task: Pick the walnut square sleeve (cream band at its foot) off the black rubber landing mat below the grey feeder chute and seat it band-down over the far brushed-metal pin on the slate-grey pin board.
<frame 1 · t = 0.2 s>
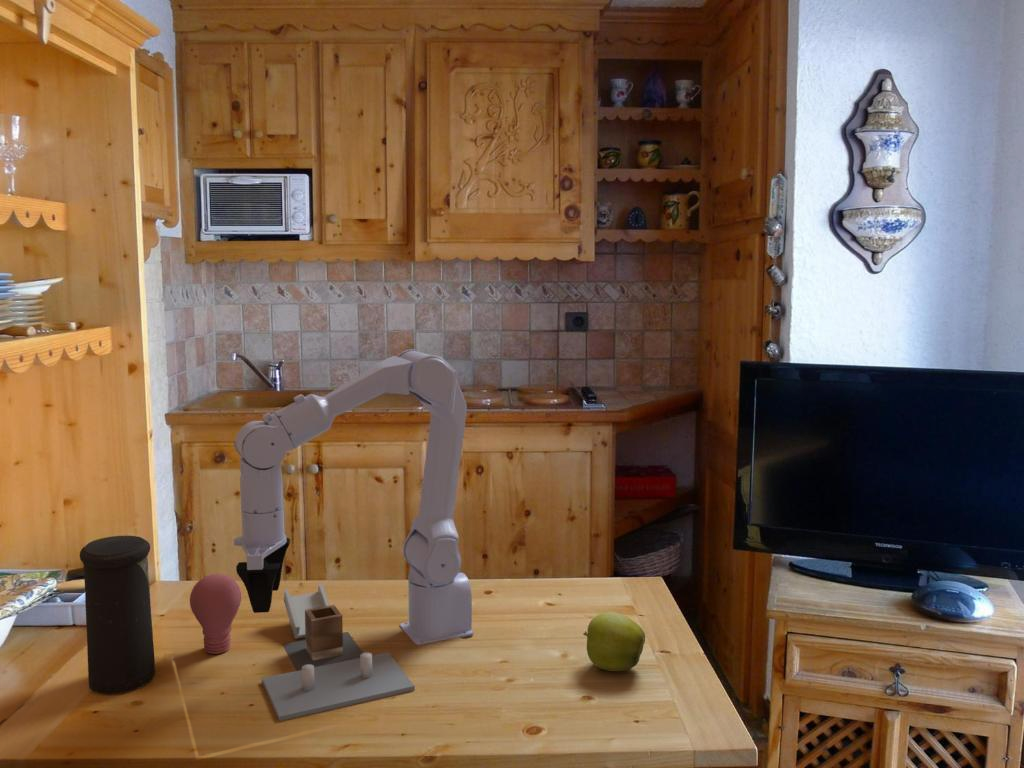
hand: (266, 600, 123), 10 cm above the table, fingers open, 7 cm apart
landing mat: (324, 653, 128), on the table
feeder chute: (309, 630, 136), on the table
pin board: (338, 688, 118), on the table
light bulb: (218, 654, 128), on the table
container: (122, 682, 119), on the table
apple: (611, 669, 124), on the table
sleeve: (324, 651, 128), resting on landing mat
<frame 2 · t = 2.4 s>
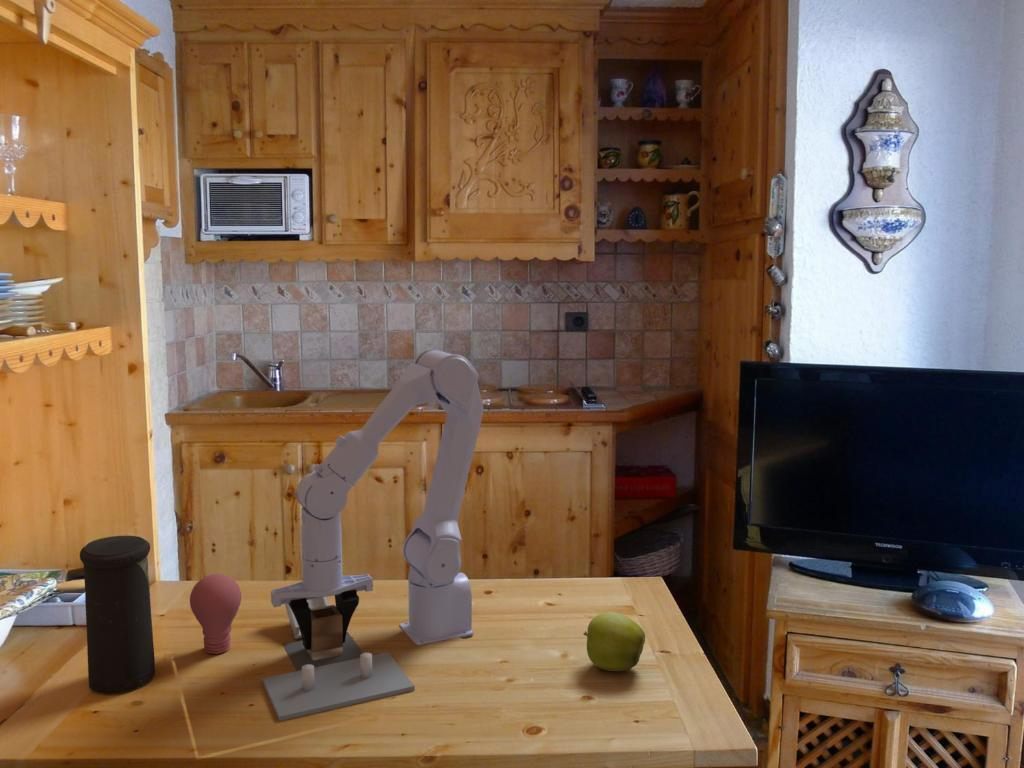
hand: (324, 643, 127), 2 cm above the table, fingers closed on sleeve, 4 cm apart
sleeve: (324, 651, 128), resting on landing mat, touching gripper
everything else where it was.
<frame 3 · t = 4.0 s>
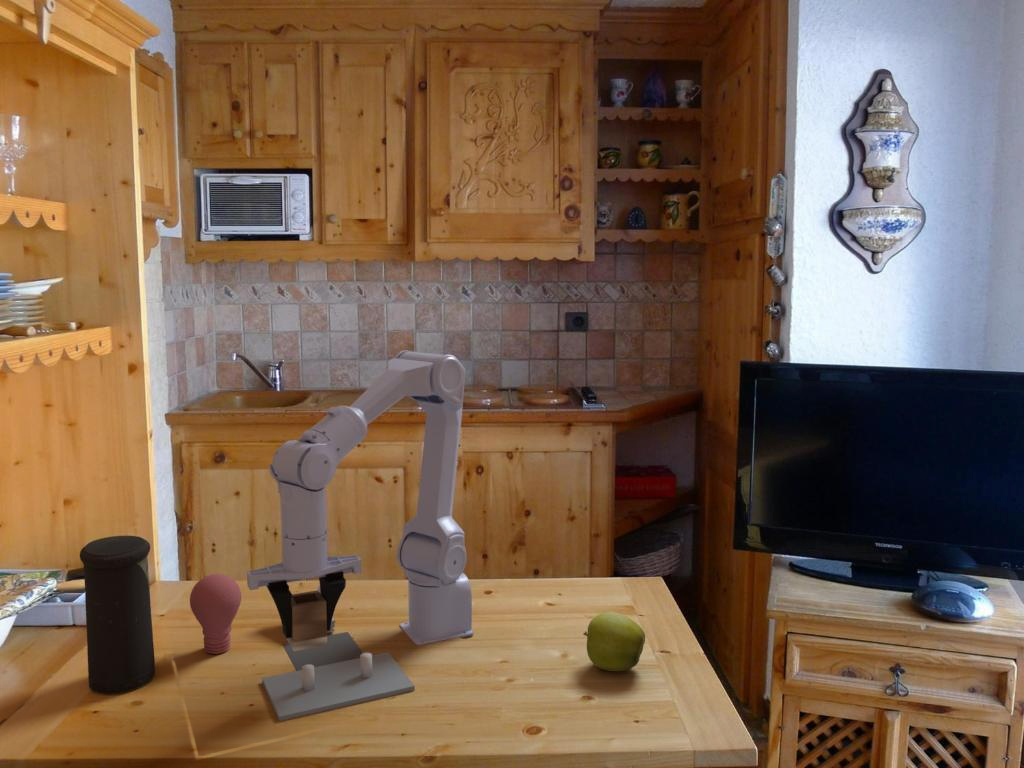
hand: (306, 631, 115), 9 cm above the table, fingers closed on sleeve, 4 cm apart
sleeve: (306, 641, 115), point 7 cm above the table, touching gripper
everything else where it was.
when the fingers open (3 cm above the table, at t = 6.0 s): sleeve stays where it is, resting on pin board.
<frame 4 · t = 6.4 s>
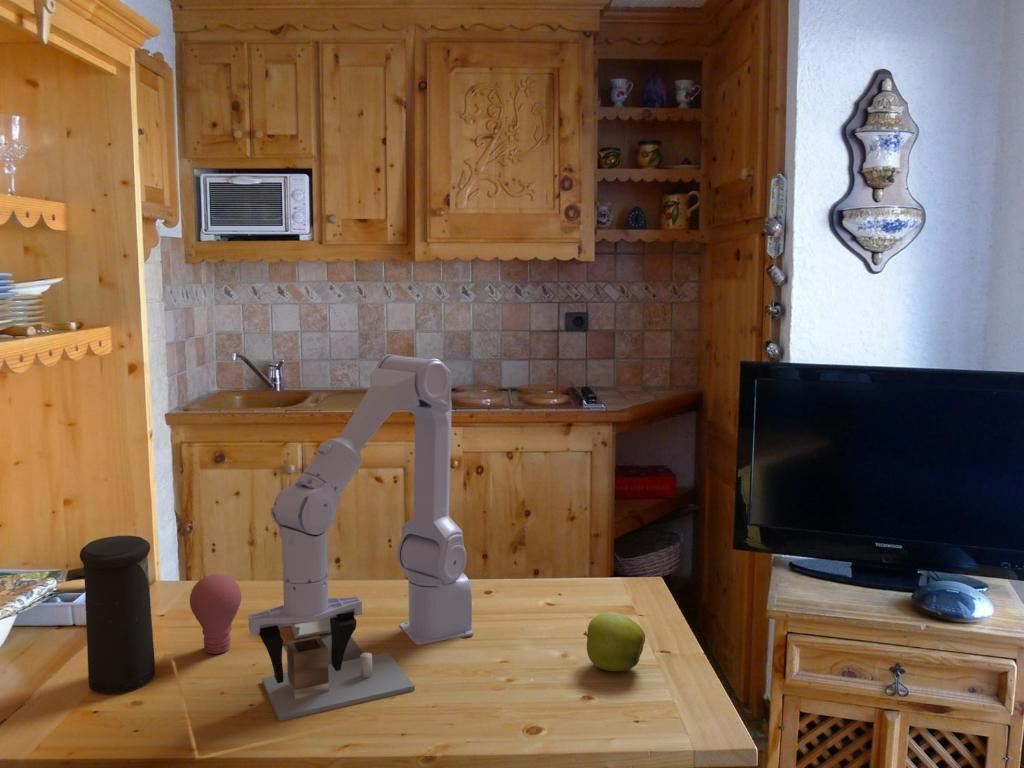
hand: (308, 673, 115), 3 cm above the table, fingers open, 7 cm apart
sleeve: (308, 687, 116), point 1 cm above the table, touching pin board
everything else where it was.
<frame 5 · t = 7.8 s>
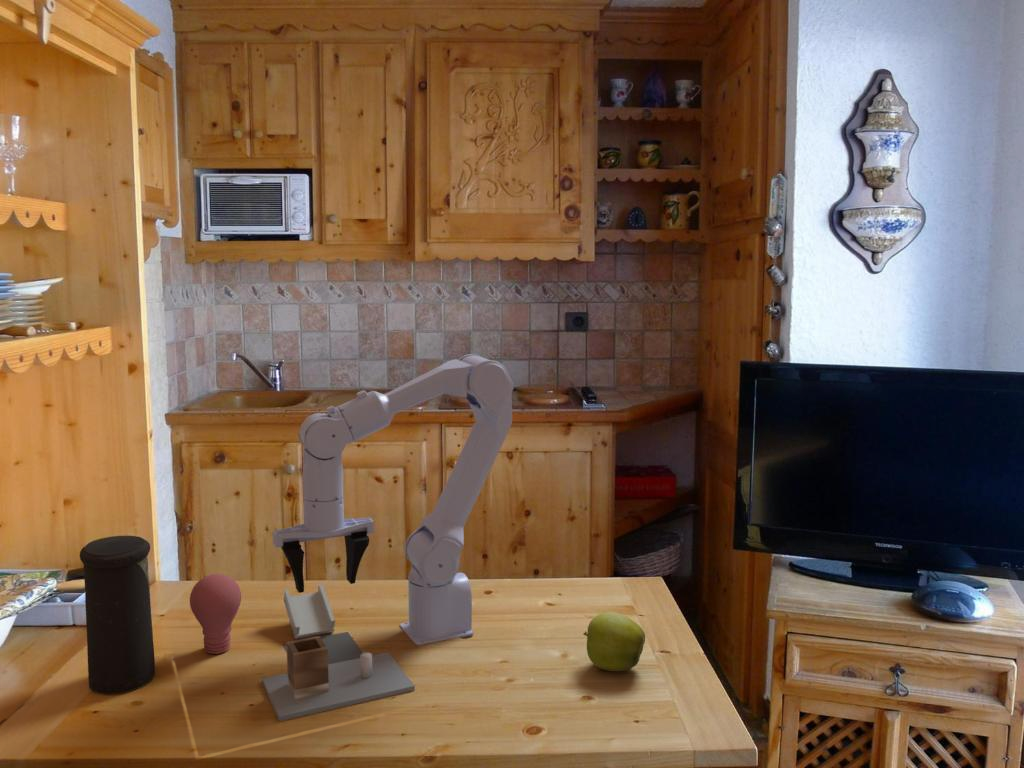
hand: (325, 585, 128), 10 cm above the table, fingers open, 7 cm apart
nothing on the table moved.
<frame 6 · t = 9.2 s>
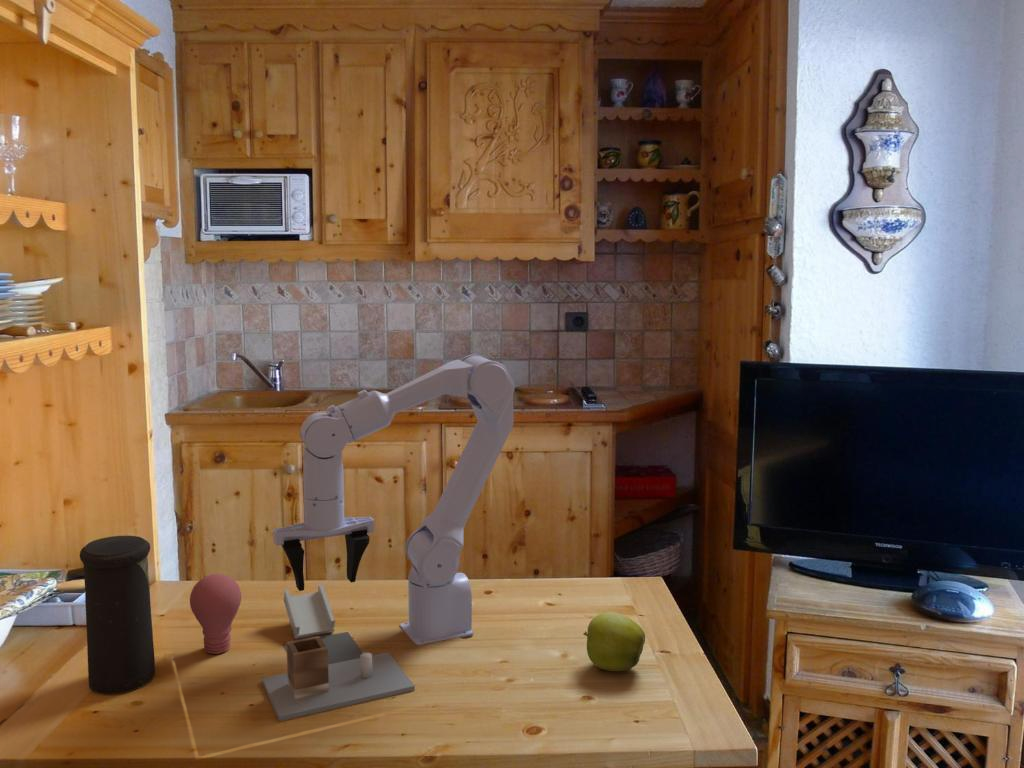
hand: (326, 584, 128), 10 cm above the table, fingers open, 7 cm apart
nothing on the table moved.
at the end: sleeve 0.2 cm from the target spot on the pin board, point 1.0 cm above the pin board's base; sleeve tilted 0°; the gripper is holding nothing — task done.
